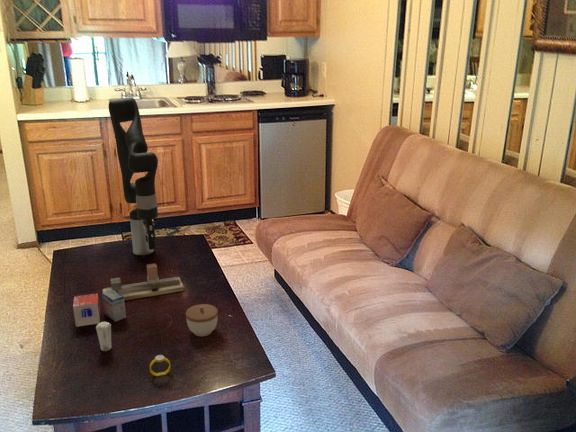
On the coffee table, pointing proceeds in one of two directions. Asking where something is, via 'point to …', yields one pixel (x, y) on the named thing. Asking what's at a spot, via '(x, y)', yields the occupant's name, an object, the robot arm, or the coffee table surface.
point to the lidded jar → (202, 319)
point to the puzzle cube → (86, 309)
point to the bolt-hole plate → (149, 293)
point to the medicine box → (113, 305)
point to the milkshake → (104, 335)
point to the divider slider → (152, 274)
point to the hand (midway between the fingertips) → (150, 245)
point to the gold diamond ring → (160, 359)
